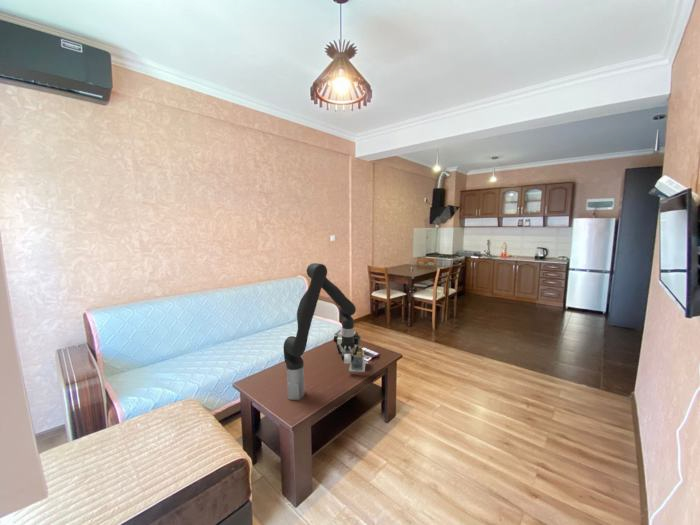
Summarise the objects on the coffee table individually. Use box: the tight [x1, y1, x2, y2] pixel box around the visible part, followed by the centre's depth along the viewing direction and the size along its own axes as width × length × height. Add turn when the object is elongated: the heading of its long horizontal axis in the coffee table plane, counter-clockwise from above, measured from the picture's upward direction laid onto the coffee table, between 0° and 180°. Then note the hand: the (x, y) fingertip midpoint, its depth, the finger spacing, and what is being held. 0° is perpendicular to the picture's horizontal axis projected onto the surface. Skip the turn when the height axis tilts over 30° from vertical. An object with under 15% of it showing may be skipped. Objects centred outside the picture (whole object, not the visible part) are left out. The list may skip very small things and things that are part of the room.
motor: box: [348, 346, 367, 373], centre depth 193 cm, size 12×10×12 cm
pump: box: [343, 350, 352, 365], centre depth 183 cm, size 5×5×7 cm
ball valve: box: [333, 329, 362, 352], centre depth 210 cm, size 18×8×18 cm, turn 73°
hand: (347, 360), depth 183 cm, fingers closed on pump, 4 cm apart
